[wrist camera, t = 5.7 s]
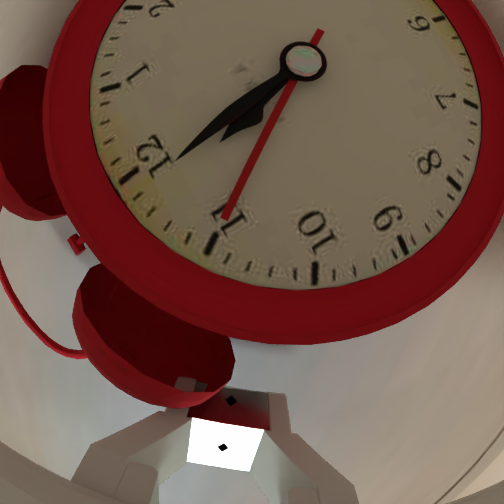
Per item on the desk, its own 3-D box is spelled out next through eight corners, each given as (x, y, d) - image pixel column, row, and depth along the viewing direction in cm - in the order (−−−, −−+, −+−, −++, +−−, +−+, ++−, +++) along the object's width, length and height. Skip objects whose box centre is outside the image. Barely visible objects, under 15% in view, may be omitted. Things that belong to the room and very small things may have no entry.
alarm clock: (574, 179, 4) (92, 557, 3) (443, 187, 10) (126, 413, 9) (369, -116, 2) (-148, 155, 1) (306, -19, 8) (-26, 174, 7)
